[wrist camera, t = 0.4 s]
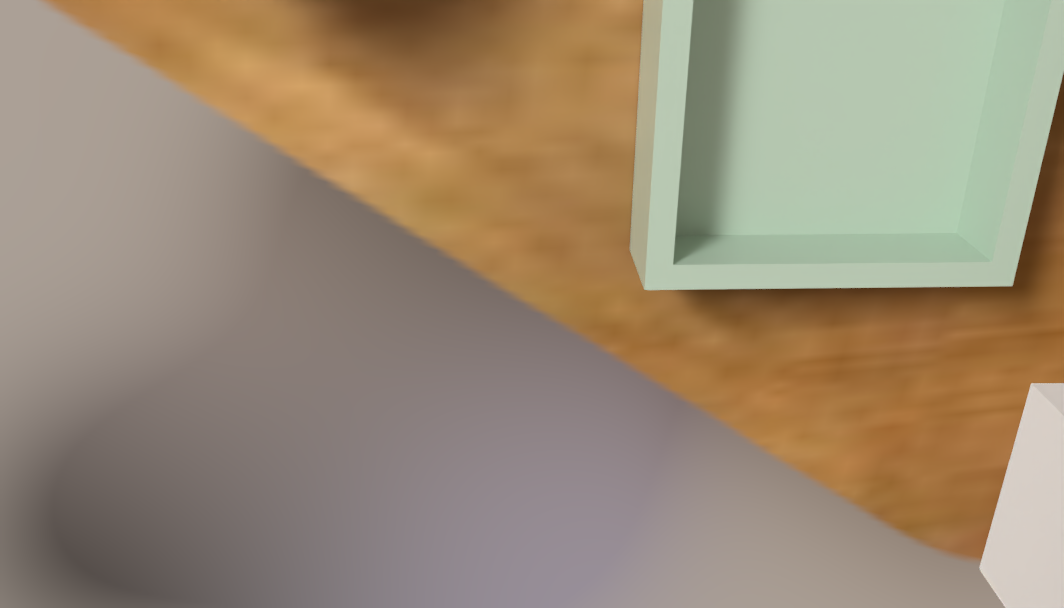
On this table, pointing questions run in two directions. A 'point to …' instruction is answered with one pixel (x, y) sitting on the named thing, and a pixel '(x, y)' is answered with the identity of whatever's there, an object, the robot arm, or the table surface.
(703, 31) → the tray
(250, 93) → the table surface
